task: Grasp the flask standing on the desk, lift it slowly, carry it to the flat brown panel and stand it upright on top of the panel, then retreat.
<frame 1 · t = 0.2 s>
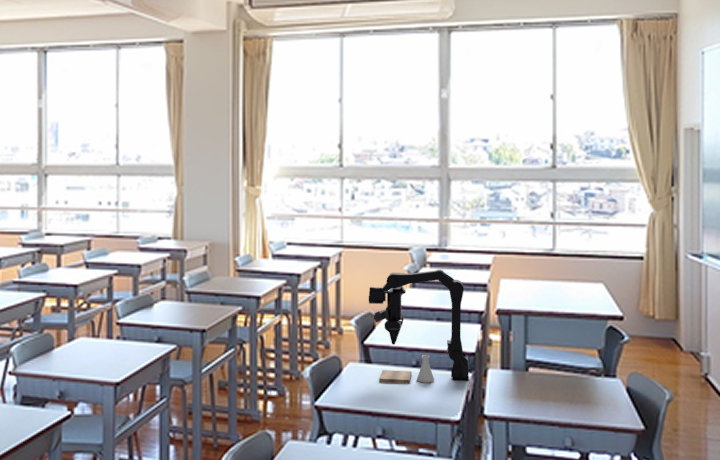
hand: (394, 341, 266), 14 cm above the table, fingers open, 9 cm apart
flask: (425, 381, 260), on the table
flat brown panel: (395, 379, 263), on the table
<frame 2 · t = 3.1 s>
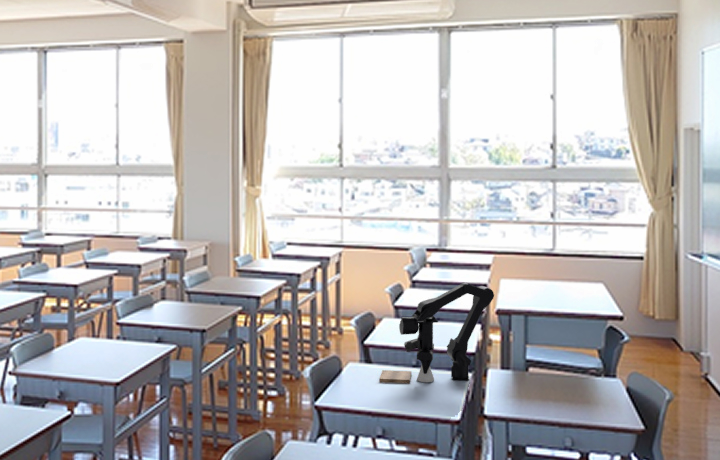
hand: (425, 371, 260), 4 cm above the table, fingers closed on flask, 5 cm apart
flask: (425, 380, 260), on the table, touching gripper
everything else where it was.
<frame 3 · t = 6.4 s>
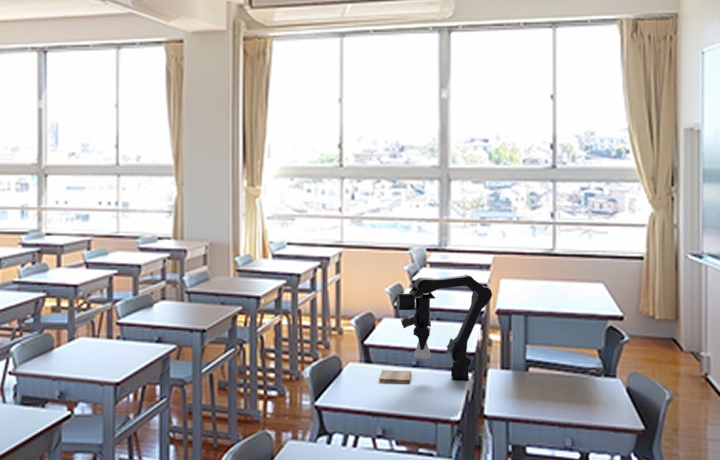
hand: (422, 348, 260), 13 cm above the table, fingers closed on flask, 5 cm apart
flask: (422, 357, 260), point 9 cm above the table, touching gripper
everything else where it was.
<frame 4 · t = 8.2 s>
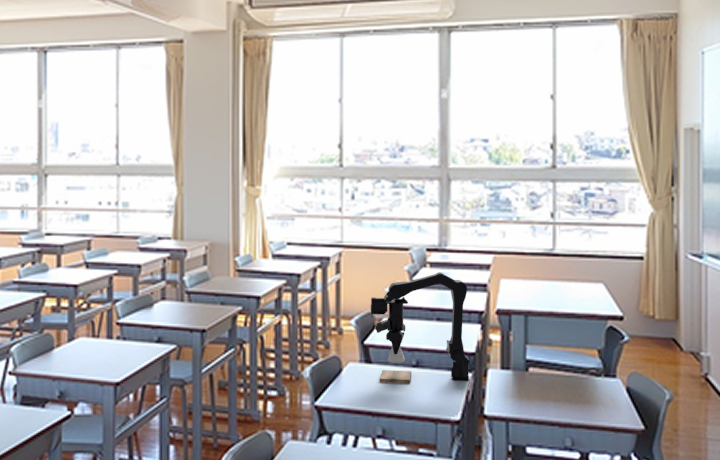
hand: (396, 352, 262), 11 cm above the table, fingers closed on flask, 5 cm apart
flask: (396, 361, 263), point 7 cm above the table, touching gripper
everything else where it was.
when the fingers open (7 cm above the table, at t = 9.7 s): flask drops 2 cm, resting on flat brown panel.
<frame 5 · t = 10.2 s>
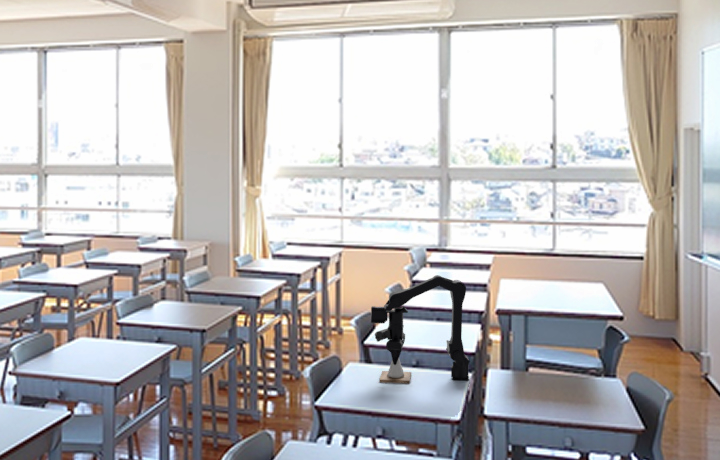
hand: (395, 361, 263), 7 cm above the table, fingers open, 9 cm apart
flask: (395, 376, 263), point 1 cm above the table, touching flat brown panel
flat brown panel: (395, 380, 263), on the table, touching flask
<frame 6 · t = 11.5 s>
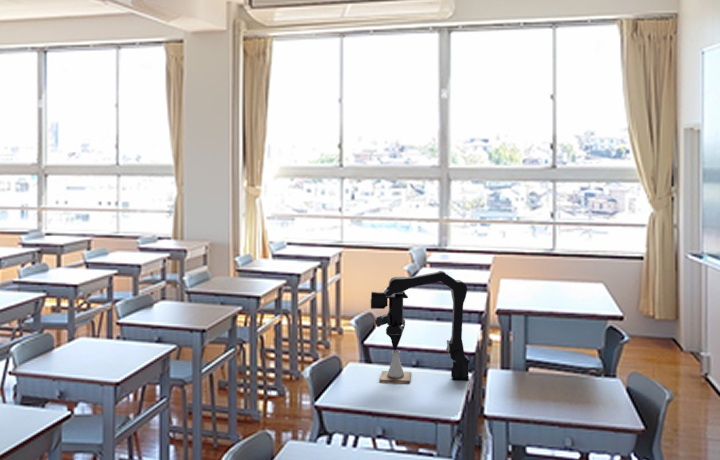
hand: (395, 347, 262), 13 cm above the table, fingers open, 9 cm apart
nothing on the table moved.
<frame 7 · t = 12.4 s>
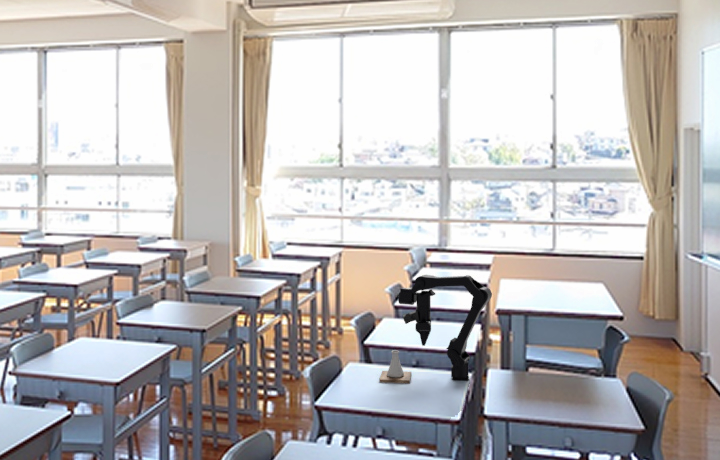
hand: (423, 342, 269), 13 cm above the table, fingers open, 9 cm apart
nothing on the table moved.
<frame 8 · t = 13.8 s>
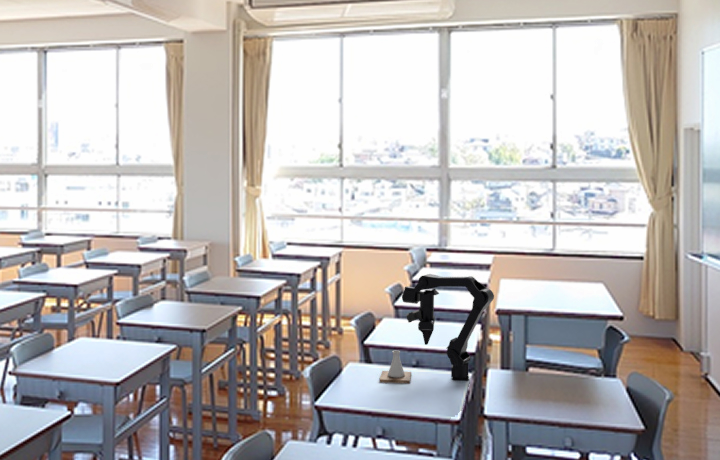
hand: (426, 341, 270), 13 cm above the table, fingers open, 9 cm apart
nothing on the table moved.
at the end: flask 0.2 cm off-centre on the flat brown panel, point 1.8 cm above the flat brown panel's base; flask tilted 0°; the gripper is holding nothing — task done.
